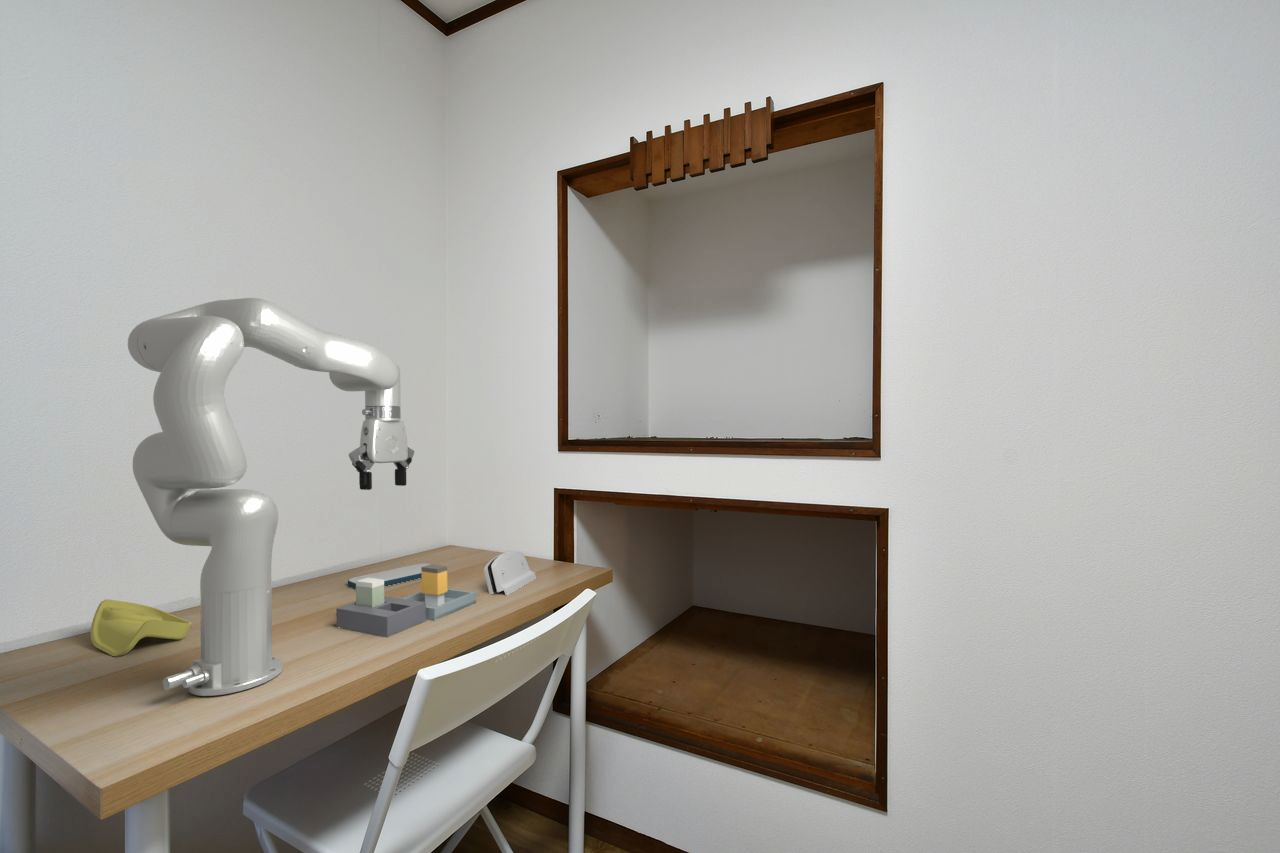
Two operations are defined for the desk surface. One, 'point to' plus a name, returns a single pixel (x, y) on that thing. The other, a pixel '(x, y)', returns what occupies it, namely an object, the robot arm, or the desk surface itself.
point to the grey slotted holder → (508, 572)
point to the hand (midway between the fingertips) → (383, 487)
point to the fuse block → (379, 611)
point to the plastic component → (132, 626)
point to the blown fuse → (434, 584)
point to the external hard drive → (393, 575)
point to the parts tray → (446, 602)
